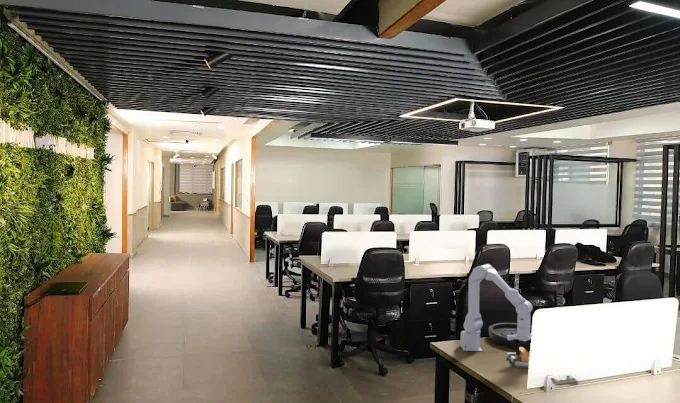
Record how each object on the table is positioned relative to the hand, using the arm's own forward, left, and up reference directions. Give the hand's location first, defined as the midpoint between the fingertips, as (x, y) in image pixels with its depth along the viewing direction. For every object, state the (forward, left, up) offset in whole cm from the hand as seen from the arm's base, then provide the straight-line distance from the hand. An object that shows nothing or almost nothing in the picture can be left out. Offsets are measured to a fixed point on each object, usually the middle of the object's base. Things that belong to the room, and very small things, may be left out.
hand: (522, 355), depth 218 cm
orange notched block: (0, 0, -3) cm, 3 cm away
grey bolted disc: (+9, +30, -4) cm, 32 cm away
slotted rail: (0, 0, -4) cm, 4 cm away
